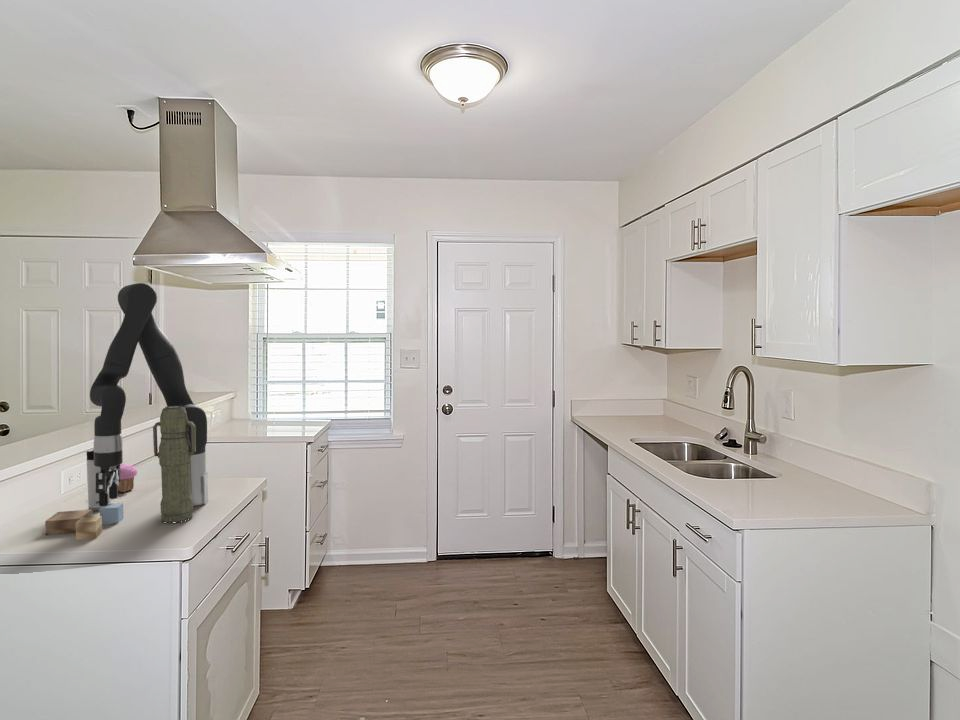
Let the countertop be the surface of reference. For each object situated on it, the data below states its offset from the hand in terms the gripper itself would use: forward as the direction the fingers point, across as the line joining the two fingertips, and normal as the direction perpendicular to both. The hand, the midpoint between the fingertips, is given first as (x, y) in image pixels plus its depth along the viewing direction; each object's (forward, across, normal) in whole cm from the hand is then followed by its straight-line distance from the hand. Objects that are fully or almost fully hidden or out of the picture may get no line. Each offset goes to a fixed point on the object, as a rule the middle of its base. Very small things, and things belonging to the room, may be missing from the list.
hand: (108, 502), depth 187 cm
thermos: (+6, -3, -20) cm, 21 cm away
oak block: (+6, -13, +1) cm, 14 cm away
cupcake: (+6, +37, +7) cm, 38 cm away
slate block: (+6, 0, -1) cm, 6 cm away
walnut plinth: (+6, -4, +9) cm, 12 cm away
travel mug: (+6, +16, +7) cm, 19 cm away
